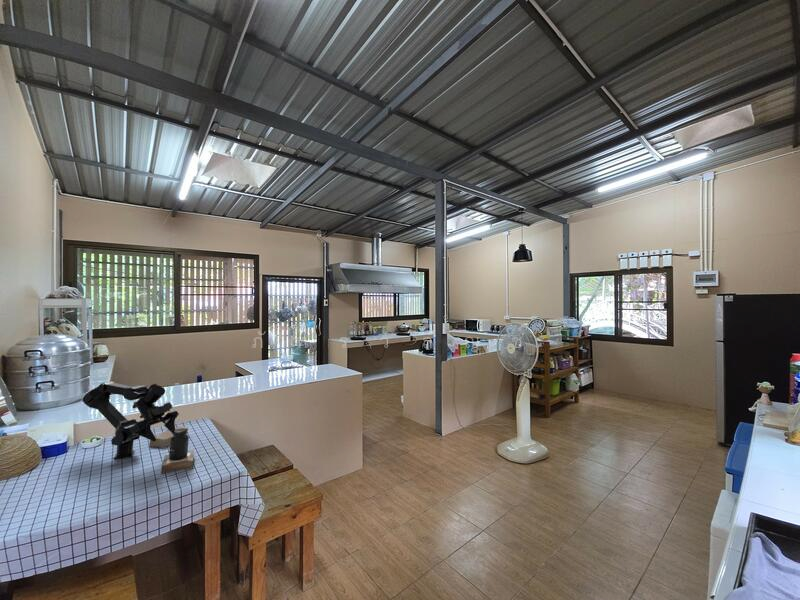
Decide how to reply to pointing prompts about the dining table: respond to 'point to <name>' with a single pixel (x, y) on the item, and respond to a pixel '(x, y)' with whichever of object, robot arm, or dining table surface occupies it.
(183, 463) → the plate
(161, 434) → the brick
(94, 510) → the dining table surface
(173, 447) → the supplement bottle
